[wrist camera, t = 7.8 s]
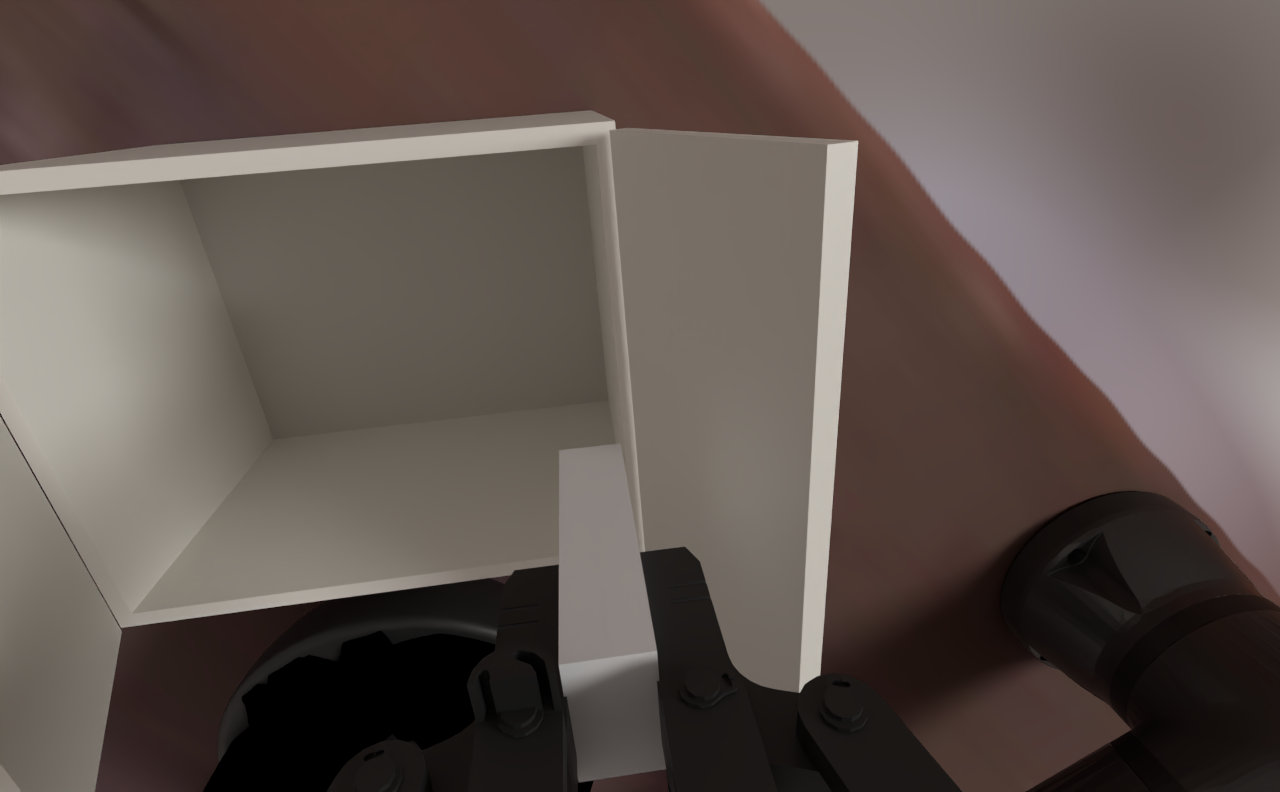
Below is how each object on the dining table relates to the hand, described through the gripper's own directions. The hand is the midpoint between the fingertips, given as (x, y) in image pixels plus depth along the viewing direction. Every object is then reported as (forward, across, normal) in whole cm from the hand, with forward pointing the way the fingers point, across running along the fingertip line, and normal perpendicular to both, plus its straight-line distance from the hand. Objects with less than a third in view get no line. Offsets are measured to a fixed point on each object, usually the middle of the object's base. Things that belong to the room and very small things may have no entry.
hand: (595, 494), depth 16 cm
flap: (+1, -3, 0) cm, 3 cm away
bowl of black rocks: (+21, +11, +23) cm, 33 cm away
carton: (+21, +8, 0) cm, 22 cm away
